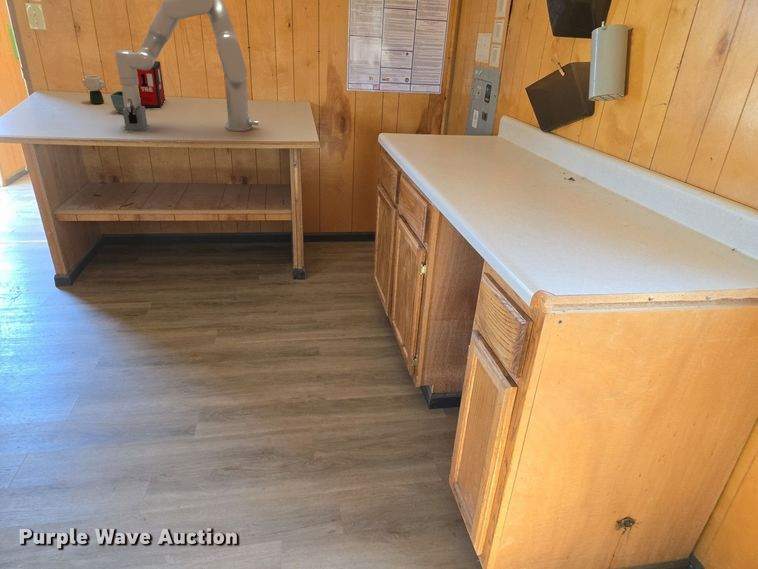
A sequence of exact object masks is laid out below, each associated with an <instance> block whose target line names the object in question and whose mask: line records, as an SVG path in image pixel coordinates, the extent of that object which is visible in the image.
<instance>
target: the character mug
mask: <svg viewBox="0 0 758 569" xmlns="http://www.w3.org/2000/svg"><path fill="white" fill-rule="evenodd" d="M82 85H83V87H86V89H87V90H88V91H89V100H90V103H91V104H102V103H104V102H105V100H104V96H103V93H102V92H101V91H102V89H105V88H106V84H105V81H104V80H101V76H99V75H96V74H88V75H85V76H84V78H83V79H82Z"/></svg>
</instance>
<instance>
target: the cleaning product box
mask: <svg viewBox="0 0 758 569" xmlns="http://www.w3.org/2000/svg"><path fill="white" fill-rule="evenodd" d="M161 66H162V65H161V61H155V63H154V65H153V67H152V68H151V69H150V70H139V69H137V75H138V81H139V85H137V87H138V93H139V99H140V106H144V107H145V109H148V108H160V109H161V108H162V107H163V105H164V104H165V102H166V95H165V89H164V81H163V75H162V74H163V73H162V68H161ZM164 101H165V102H164ZM163 103H164V104H163ZM161 106H162V107H161Z"/></svg>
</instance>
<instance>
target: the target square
mask: <svg viewBox="0 0 758 569" xmlns="http://www.w3.org/2000/svg"><path fill="white" fill-rule="evenodd" d="M149 127H150V124H147V127H146V128H145V129H144V130H142V131H141V132H144V131H145V132H146V130H148V128H149ZM123 130H124V131H127V130H126V127H125V128H124V129H123Z"/></svg>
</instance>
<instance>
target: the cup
mask: <svg viewBox="0 0 758 569" xmlns="http://www.w3.org/2000/svg"><path fill="white" fill-rule="evenodd" d="M135 114H136V118H137V124H130V123H129V118H128V109H125V108H124V109H123V113H122V115H123V122H124V125H125V126H124V127H125V128H126V130H125V131H130V130H144V129H145V128H146V127H147V125H148V120H147V115H146V108H145V107H144V106H141V105H140V106H138V107H137V108H136V109H135Z"/></svg>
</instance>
